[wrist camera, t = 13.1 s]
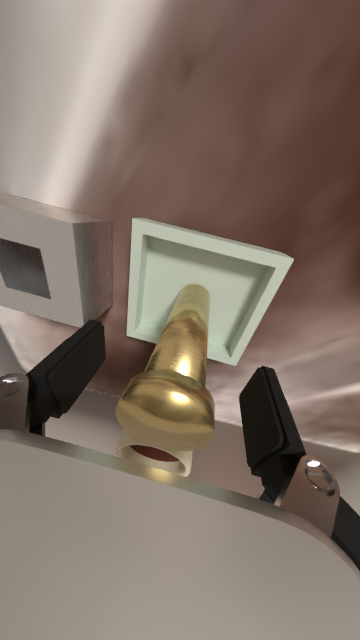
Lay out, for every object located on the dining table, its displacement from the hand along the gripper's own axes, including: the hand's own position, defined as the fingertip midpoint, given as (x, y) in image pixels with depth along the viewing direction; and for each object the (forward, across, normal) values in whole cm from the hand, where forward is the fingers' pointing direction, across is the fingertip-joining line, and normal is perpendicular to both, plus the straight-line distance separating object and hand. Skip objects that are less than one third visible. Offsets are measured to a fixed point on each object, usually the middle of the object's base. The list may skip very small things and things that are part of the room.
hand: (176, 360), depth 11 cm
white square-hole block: (+12, +16, 0) cm, 20 cm away
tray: (+12, 0, +1) cm, 12 cm away
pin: (+11, 0, +1) cm, 11 cm away
